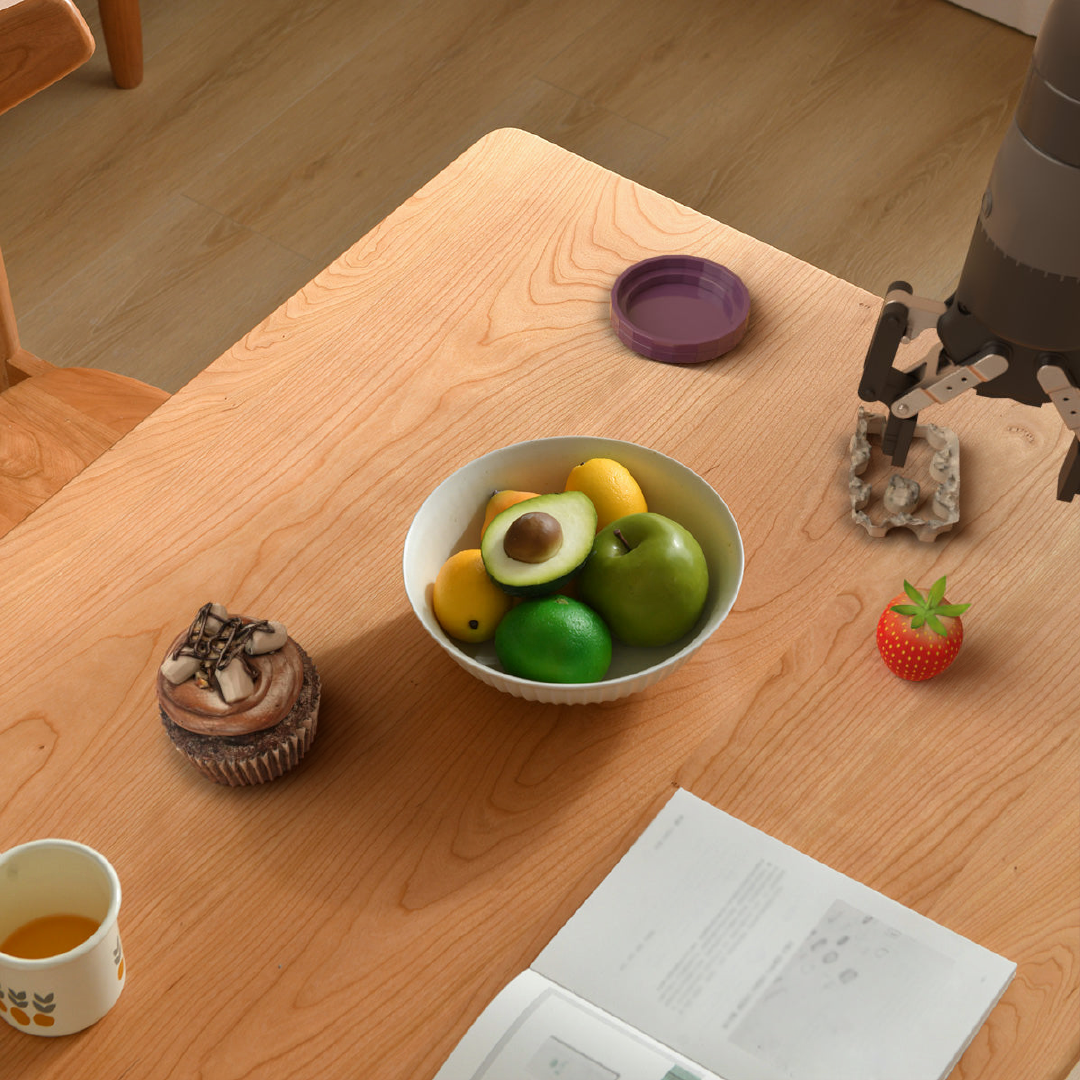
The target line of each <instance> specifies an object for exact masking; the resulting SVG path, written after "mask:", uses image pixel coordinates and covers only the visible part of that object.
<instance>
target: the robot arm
mask: <svg viewBox="0 0 1080 1080" xmlns="http://www.w3.org/2000/svg"><path fill="white" fill-rule="evenodd" d="M966 253H967V254H966V257H965V260H964V263H963V267H962V271H961V274H960V277H959V280H958V281H959V282H958V284H957V287H956V289H955V290H954V292H953V293H952V294H951V295H949V296H948V297H947V298H946V299H945V300H944V301H939V300H935V299H930V298H927V297H922V296H918V295H913V294H914V289H913V286H912V284H910V283H909V282H907V281H905V280H895V281H893V282H891V283H890V284H889V285H888V286H887V290H886V293H885V297H884V298H883V303H882V305H881V309H880V311H879V314H878V318H877V321H876V324H875V327H874V330H873V334H872V336H871V339H870V343H869V345H868V349H867V351H866V355H865V358H864V361H863V366H862V375H861V378H860V381H859V383H858V388H857V396H858V398H859V399H860V400H861V401H864V402H865V403H875V402H880V403H882V404H883V405H885V406H886V407H887V409H888V410H889V411H888V415H887V418H886V420H887V423H886V426H885V430H884V435H883V439H881V440H882V441H881V446H880V449H881V452H882V455H884V456H889V457H891V460H890V466H891V467H894V468H899V469H900V468H901V469H904V467H905V466H906V463H907V458H908V455H909V451H910V447H911V445H912V441H913V438H914V437H913V434H914V431H915V427H916V424H918V418H919V414H920V413H921V412H922V411H923V410H925V409H927V408H929V407H930V406H932V405H934V404H936V403H937V404H938V405H945V404H946V403H948V402H950V401H952V400H953V399H955V398H957V397H959V396H960V395H962V394H963V393H966V392H967V391H969V390H971V389H973V390H975V396H979V397H984V398H989V399H1009V400H1012V401H1015V402H1017V403H1018V404H1019V403H1020V404H1022V405H1024V406H1028V407H1029V406H1030V407H1034V408H1039V409H1041V408H1042V406H1043V404H1051V403H1052V404H1053V405H1054V407H1055V409H1056V411H1057V412H1058V414H1059V415H1060V418H1061V419H1062V421H1063V423H1064V425H1065V427H1066V428H1067V430H1068V431H1072V432H1073V433H1074V436H1073V438H1072V440H1071V443H1070V446H1069V448H1068V451H1067V453H1066V454H1065V457H1064V459H1063V462H1062V465H1061V467H1060V469H1059V472H1058V476H1057V477H1058V478H1057V486H1056V488H1057V489H1056V496H1055V497H1056V499H1055V500H1056V501H1059V502H1064V503H1069V504H1071V503H1072V502H1073V500H1074V498H1075V496H1076V495H1078V496H1080V0H1051V1H1050V3H1049V5H1048V8H1047V10H1046V12H1045V15H1044V17H1043V19H1042V22H1041V25H1040V28H1039V31H1038V33H1037V36H1036V39H1035V43H1034V46H1033V49H1032V53H1031V57H1030V59H1029V63H1028V66H1027V70H1026V74H1025V77H1024V81H1023V84H1022V87H1021V91H1020V94H1019V97H1018V101H1017V105H1016V108H1015V110H1014V114H1013V116H1012V119H1011V122H1010V123H1009V126H1008V128H1007V130H1006V132H1005V135H1004V137H1003V139H1002V141H1001V143H1000V145H999V148H998V150H997V152H996V155H995V158H994V161H993V164H992V168H991V172H990V173H989V177H988V181H987V185H986V188H985V190H984V192H983V195H982V198H981V205H980V209H979V213H978V216H977V220H976V223H975V227H974V230H973V233H972V237H971V240H970V244H969V246H968V250H967V252H966ZM927 329H936V335H937V337H938V338H939V340H940V341H939V342H937V343H936V344H934V345H933V346H932V347H931V348H930V350H929V351H928V353H927V354H926V355H925V356H924V357H922V358H920V359H918V360H917V361H915V362H914V363H912V364H911V365H909V366H907V367H906V368H904V369H903V370H900V369H898V368H896V367H894V366H893V364H894V361H895V359H896V356H897V354H898V350H899V347H900V344H902V345H909V344H910V343H911V341H914V340H916V339H917V338H918V337H919V336H920V334H921V333H922V332H923V331H925V330H927Z"/></svg>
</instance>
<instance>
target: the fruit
mask: <svg viewBox="0 0 1080 1080" xmlns="http://www.w3.org/2000/svg"><path fill="white" fill-rule="evenodd" d="M946 587H947V574H944V575H943V576H942V577H940V578H939V579H937V580H936V581H935V582H934V583H933V584H932V586H931V587H930V589H929V588H924V587H918V588H917V587H916V588H915V587H914V586H913V585H912V584H910V583H909V582H908V580H907V579H906V578H904V580H903V589H904V591H903V592H901V593H899V594H898V595H897V596H895V597H894V598H893V599H892V600H891V601H890V602H889V603H888V604H887V605H886V607H885V608H884V610H883V612H882V613H881V615H880V618H879V621H878V623H877V627H876V634H875V638H876V645H877V649H878V652H879V654H880V657H881V658H882V660H883V663H884V664H885V666H886V668H887V669H889V670H890V671H891V672H892V673H893V674H894V675H895V676H897V677H898V678H900V679H903V680H906V681H911V682H920V681H925V680H928V679H931V678H933V677H935V676H938V675H939V674H941V673H943V672H944V671H945V670H946V669H947V668H949V667H950V666H951V665H952V663H953V662H954V661H955V659H956V658H957V656H958V655H959V653H960V650H961V647H962V644H963V640H964V625H963V621H962V619H961V617H960V616H962V615H963V614H964V613H965V612H966V611H967V610H968V609H969V608H970V607H971V605H972V602H970V603H957V604H952V603H951V602H950V601H949V600H948V599H946V598H945V597H944V596H945V593H946Z"/></svg>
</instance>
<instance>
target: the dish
mask: <svg viewBox="0 0 1080 1080" xmlns="http://www.w3.org/2000/svg"><path fill="white" fill-rule="evenodd" d="M751 305H752V302H751V297H750V291H749V288H748V287H747V286H746V284H745V283H744V282H743V280H742V279H741V278H740V276H739V275H737V274H736V273H734V272H733V271H732V270H731V269H730V268H728V267H727V266H725V265H723V264H721V263H719V262H716V261H713V260H712V259H708V258H705V257H700V256H694V255H689V254H662V255H657V256H653V257H648V258H645V259H642V260H641V261H638V262H636V263H634V264H632V265H630V266H628V267H627V268H626V269H625V270H624V271H622V272H621V274H620V275H619V276H617V277H616V279H615V281H614V283H613V285H612V288H611V290H610V297H609V319H610V325H611V327H612V329H613V331H614V333H615V334H616V336H617V339H619V340H620V341H621V342H622V343H623V344H624V345H626V347H628V348H629V349H630V350H632V351H634V352H635V353H637V354H640V355H641V356H644V357H646V358H649V359H651V360H656V361H660V362H664V363H670V364H695V363H696V364H697V363H702V362H705V361H710V360H713V359H716V358H719V357H720V356H722V355H724V354H726V353H728V352H730V351H732V350H733V349H735V347H736V346H737V345H738V344H739V342H741V341H742V340H743V338H744V337H745V335H746V331H747V328H748V324H749V319H750V314H751V313H750V312H751V307H752V306H751Z"/></svg>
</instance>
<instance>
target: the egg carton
mask: <svg viewBox="0 0 1080 1080" xmlns="http://www.w3.org/2000/svg"><path fill="white" fill-rule="evenodd" d="M856 420H857V421H856V428H855V433H854V434H853V435H852V436H851V438H850V441H849V452H850V453H851V459H850V465H849V472H848V488H849V499H850V505H851V519H852V520H854V522H855V523H856V525H858V524H859V525H861V526H862V527H864V528H865V529H866V530H867V532H868V534H869V536H871V537H874V538H885V537H886V535H887V532H888V531H889V530H891V529H893V528H897V527H903V528H907V529H909V530H911V531H912V532H914V534H915V535H916V537H917V539H918V540H919V542H923V543H924V542H925V543H934V542H935V540H936V538H937V536H939V535H941V534H942V533H945V532H951V531H952V528H953V524H955V523H957V522H959V520H960V512H961V511H960V510H961V509H960V499H961V498H960V488H961V479H960V471H961V470H960V469H961V468H960V439H959V438H960V437H959V435H958V434H957V433H956V432H955V431H953V430H952V429H951V428H950V427H948V426H939V425H937V424H934V423H932V422H929V423H928V424H919V423H917V424H916V427H915V431H914V434H913V438H924V439H926V441H927V442H928V444H929V445H930V446H931V447H932V448H934V449H936V450H939V451H936V452H935V453H934V455H933V457H932V459H931V462H930V465H929V469H928V472H929V475H930V477H931V478H932V479H933V480H934V481H936V482H938V483H939V484H938V485H937V487H936V490H935V493H934V496H933V498H932V502H931V509H932V511H933V512H934V513H933V514H935V515H937V516H938V517H939V518H941V519H943V520H946V521H942V520H940V519H939V520H938V519H933V518H932V519H929V520H927V521H926V520H924V519H923V518H921V517H920V518H915V517H914V516H913V515H911V514H912V513H914V512H915V510H916V509H917V506H918V503H919V501H920V498H921V485H920V483H919V482H917V481H915V480H914V479H910V478H907V477H904V476H901V474H899V473H894V474H893V475H892V476H890V478H889V480H888V485H887V486H886V488H885V491H884V495H883V501H882V502H883V506H884V507H885V509H886V510H887V511H888V512H890V513H892V514H893V515H892V516H891V517H890V518H889V517H886V518H884V519H883V521H882V524H881V525H879V526H876V525H873V524H872V521H871V518H870V516H869V515H867V514H866V513H864V511H863V510H862V509H864V508H866V506H867V505H868V503H869V500H870V497H871V492H872V489H873V485H872V483H870V482H869V483H865V482H864V481H863V480H862V479H861V478H860V477H858V476H860V475H862V474H864V473H865V472H866V471H867V468H868V465H869V459H870V458H871V452H872V451H871V450H872V449H873V446H872V445H870V444H869V441H868V440H867V434H877V435H879V436H880V438H881V440H883V435H884V430H885V426H886V423H887V416H886V415H884V414H883V413H878V412H868V411H866V410H865V406H862V405H861V406H859V407H858V409H857V419H856ZM857 511H858V512H857ZM895 515H897V516H895Z"/></svg>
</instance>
